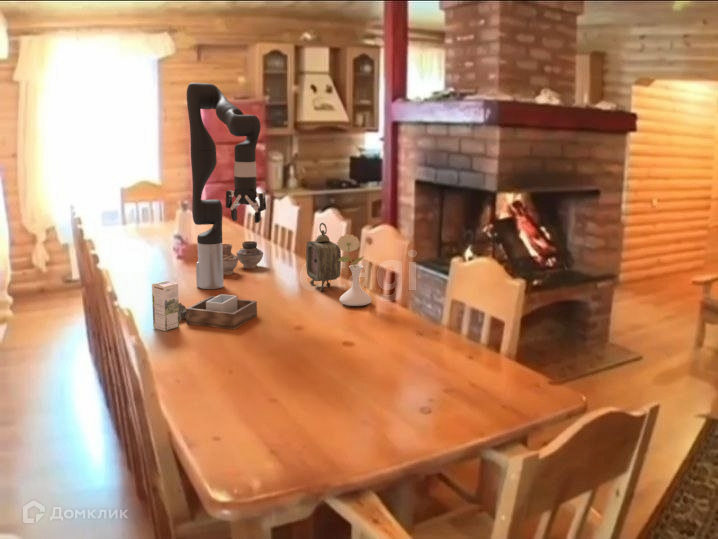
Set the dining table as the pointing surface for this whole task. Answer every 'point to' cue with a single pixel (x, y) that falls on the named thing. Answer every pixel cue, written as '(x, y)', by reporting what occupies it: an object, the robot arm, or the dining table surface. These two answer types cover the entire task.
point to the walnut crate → (221, 314)
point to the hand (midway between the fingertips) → (246, 221)
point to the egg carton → (182, 311)
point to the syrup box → (165, 305)
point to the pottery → (241, 256)
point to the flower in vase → (353, 273)
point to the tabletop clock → (323, 259)
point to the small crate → (222, 303)
